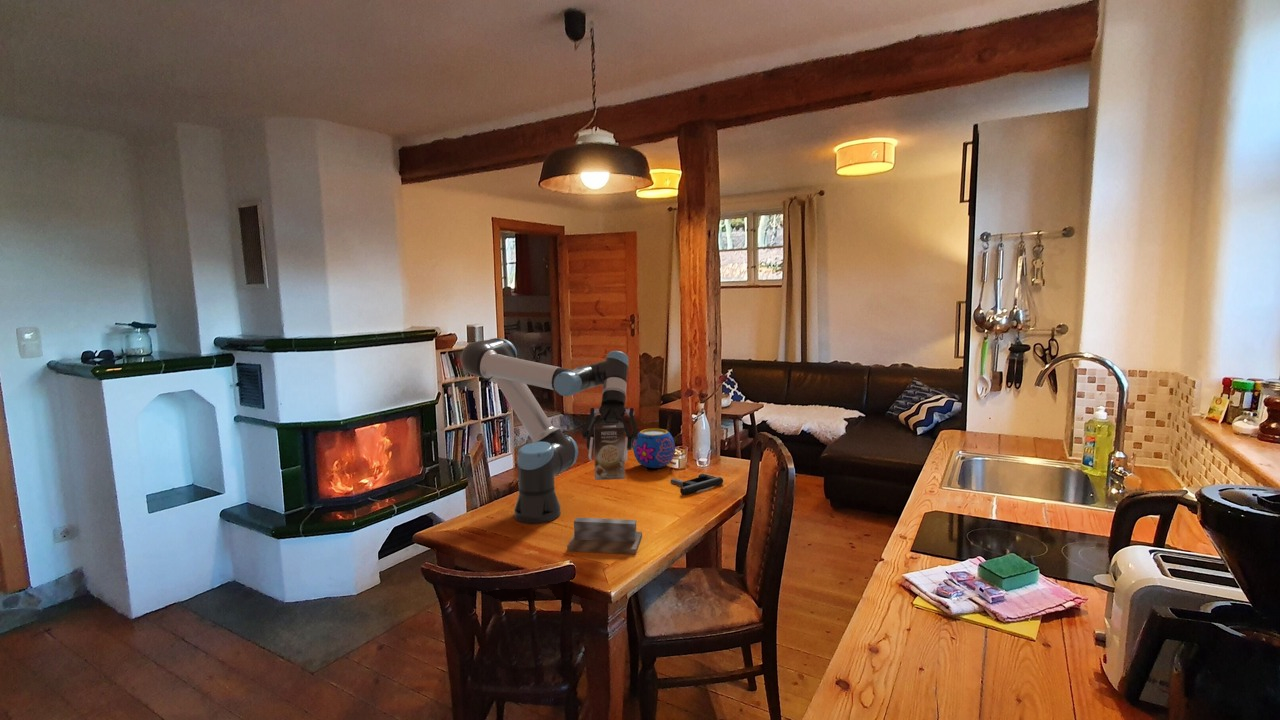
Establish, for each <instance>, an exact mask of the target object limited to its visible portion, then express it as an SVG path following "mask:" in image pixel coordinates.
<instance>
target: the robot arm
mask: <svg viewBox="0 0 1280 720" xmlns="http://www.w3.org/2000/svg"><path fill="white" fill-rule="evenodd" d="M517 356H518V351H517V348H516V347H515V345H514V344H513V343H512V342H511V341H509V340H507V339H505V338H497V337H496V338H495V337H494V338H490V339H486V340H485V339H484V340H478V341H474V342H470V343H468V344H467V345H466V346H465V347H464V348H463V349H462V352H461V353H460V363H461V366H462V369H463V370H464V371H466V372H467V374H469V375H471V376H475V377H480V378H485V379H488V380H489V381H490V382H491V383H495V384H497V386H498V388H499V389H500V391H501V392H502V394H503V396H504V397H505V398H506V400H507V402H508V404H509V406H510V407H511V409H512V410H513V412H514V413H515V415H516V416H517V418H518V420H519V421H520V423H521V424H522V427H523V428H524V429H525V430H526V432H527V434H528V436H529V437H530V439H531V440H532V441H531V443H527V444H524V445H523V446H521V447H520V448H519V449H518V451H517V458H516V463H517V464H516V465H517V477H518V478H517V479H518V480H517V482H518V496H517V498H516V499H517V500H516V503H515V507H514V519H515V520H517V521H518V522H520V523H525V524H542V523H547V522H551V521H554V520H556V519H557V518H559V517H560V515H561V514H562V513H561V512H562V511H561V504H560V502H559V499H558V497H557V494H556V490H555V477H556V476H559V475H560V474H562V473H563V472H565V471H568V470H569V469H570V468H571V467H572V466H574V464H575V463H576V461H577V460H578V456H579V447H578V444H577V442H576V440H575V439H573V437H572V436H569V435H567V434H564V433H563V432H562V430H561V428H560V427H556V426H553V424H552V422H551V420H550V419H549V418H548V416H547V415H546V413H545V412H544V410H543V409H542V407H541V405H540V404H539V401H538V400H537V399H536V397H535V396H534V394H533V392H532V391H531V389H530V388H529V386H534V387H538V388H543V389H549V390H550V391H551V390H552V391H556V393H557V394H559V395H560V396H562V397H563V396H564V397H569V396H574V395H577V394H578V393H580V392H583V391H586V390H589V389H591V388H592V389H593V388H595V387H598V386H602V395H601V402H600V403H601V404H600V406H599V408H594V407H591V408H589V409H590V410H589V415H588V419H587V421H586V423H585V425H584V427H583V430H582V432H581V437H582V438H583V439H585V440H586V445H585V446H586V449H587V450H588V459H589V461H591V462H593V460H594V457H593V456H594V426H593V425H594V423H595V419H596V417H597V416H598V414H600V416H599V419H598V420H597V421H596V423H623V425H624V435H625V436H624V461H625V462H627V461H628V455H629V454H628V453H629V451H631V450H633V448H632V440H634V439H638V433H639V432H638V429H637V424H636V420H635V418H634V417H635V409H634V408H633V407H631V408H626V396H627V386H628V385H627V384H628V382H627V381H628V375H629V374H628V373H629V368H630V366H629V356H628V355H627V354H626V353H625V352H623V351H621V350H620V351H619V350H612V351H610V352H609V353H607V355H606V358H605V360H603V361H600V362H595V363H592V364H586V365H581V366H579V367H576V368H573V369H569V368H565V367H560V366H555V365H550V364H547V363H546V364H545V363H541V362H536V361H532V360H526V359H522V358H518V357H517ZM528 385H529V386H528ZM626 414H627V417H629V419H630V420H629V421H630V425H631V429H632V433H631V431H630V430H629V427H628V426H627V424H626V422H625V420H624V419H623V417H624V416H625V415H626Z"/></svg>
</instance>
